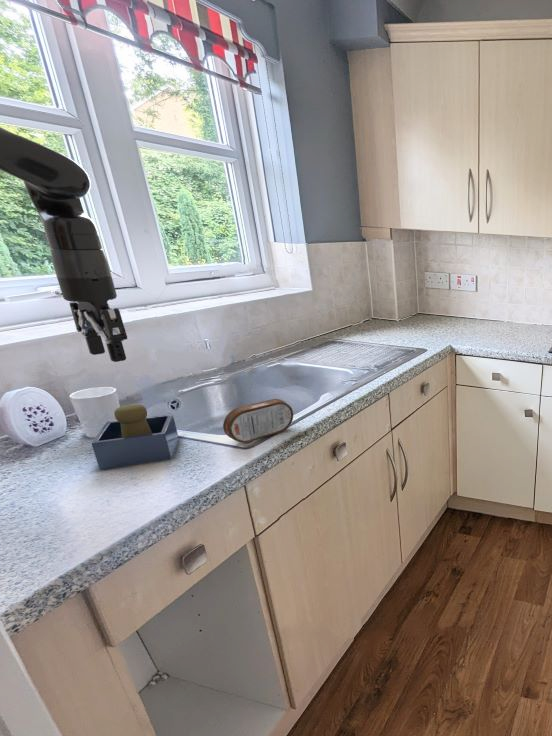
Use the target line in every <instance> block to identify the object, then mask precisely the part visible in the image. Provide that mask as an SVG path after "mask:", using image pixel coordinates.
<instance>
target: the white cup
mask: <svg viewBox="0 0 552 736" xmlns="http://www.w3.org/2000/svg"><path fill="white" fill-rule="evenodd" d="M69 399H70V401H71V404H72V407H73V409H74V412H75V414H76V416H77V418H78V421H79V423H80V426H82V429H83V431H84V434H85V436H86V437H87V438H90V439H91V438H92V439H93V438H94V439H95V438H96V436H97V435H98V433H99V432H100V431H101V429H102V428H103V426H104V425H105V424H106V422H112V421H117V420H116V418H115V415H114V413H115V410H116V409H117V408H118V407H120V406H121V405H120V404H121V403H120V399H119V395H118V391H117V388H115V387H113V386H112V387H111V386H97V387H90V388H84V389H81V390H77V391H75V392H72V393H70V394H69Z"/></svg>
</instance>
